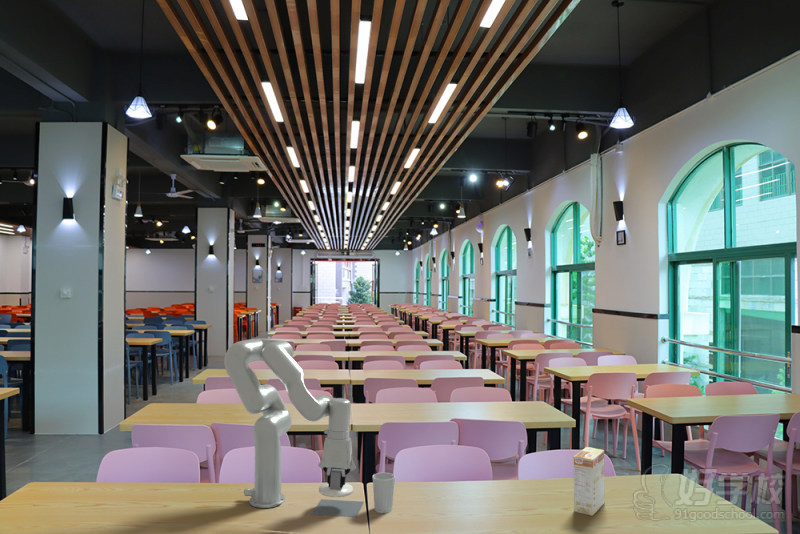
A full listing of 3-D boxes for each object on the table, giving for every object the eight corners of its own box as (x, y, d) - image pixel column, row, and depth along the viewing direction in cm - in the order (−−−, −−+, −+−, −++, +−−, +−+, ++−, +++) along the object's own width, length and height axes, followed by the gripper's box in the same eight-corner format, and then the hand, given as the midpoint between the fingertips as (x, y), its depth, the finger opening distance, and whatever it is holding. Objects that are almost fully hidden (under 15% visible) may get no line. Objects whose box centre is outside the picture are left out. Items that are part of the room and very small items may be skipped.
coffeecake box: (586, 498, 214) (586, 446, 215) (605, 503, 210) (605, 449, 211) (572, 511, 202) (572, 455, 203) (593, 516, 198) (593, 459, 199)
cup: (392, 516, 196) (392, 480, 197) (369, 514, 198) (370, 479, 198) (396, 507, 204) (397, 473, 204) (375, 505, 206) (375, 471, 206)
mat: (310, 515, 196) (310, 514, 196) (321, 500, 210) (321, 499, 210) (356, 518, 194) (356, 517, 194) (364, 503, 208) (364, 501, 208)
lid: (314, 495, 197) (315, 475, 197) (323, 483, 209) (324, 464, 209) (349, 498, 196) (349, 478, 196) (355, 486, 208) (356, 466, 208)
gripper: (313, 435, 200) (310, 488, 200) (359, 438, 198) (357, 492, 198) (318, 429, 208) (316, 480, 207) (363, 433, 206) (361, 484, 205)
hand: (336, 485), depth 202 cm, fingers closed on lid, 3 cm apart
